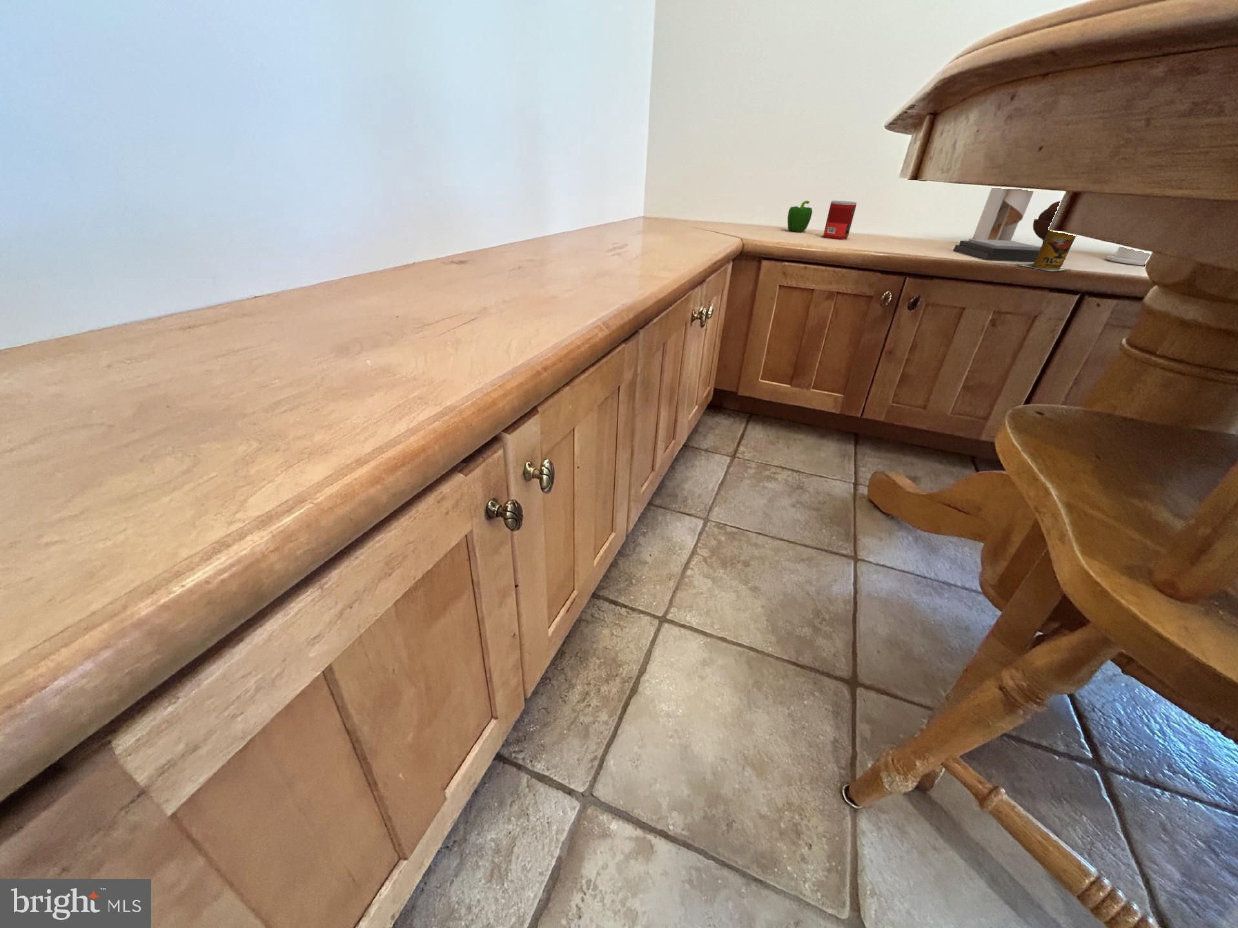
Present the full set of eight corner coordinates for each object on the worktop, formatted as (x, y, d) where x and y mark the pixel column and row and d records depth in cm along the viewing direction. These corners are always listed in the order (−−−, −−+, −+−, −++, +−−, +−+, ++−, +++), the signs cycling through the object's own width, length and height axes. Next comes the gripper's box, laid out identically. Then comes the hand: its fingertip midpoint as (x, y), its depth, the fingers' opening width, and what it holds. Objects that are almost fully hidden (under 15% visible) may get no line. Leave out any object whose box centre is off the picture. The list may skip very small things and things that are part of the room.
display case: (982, 248, 162) (1033, 117, 143) (970, 244, 170) (1017, 120, 152) (1021, 251, 160) (1078, 119, 141) (1007, 246, 169) (1059, 121, 150)
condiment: (1052, 272, 128) (1077, 220, 122) (1017, 265, 134) (1039, 216, 128) (1067, 270, 131) (1091, 220, 125) (1032, 264, 137) (1054, 216, 131)
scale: (1010, 253, 155) (1014, 242, 153) (1047, 262, 141) (1053, 251, 140) (953, 250, 154) (957, 240, 153) (985, 260, 141) (990, 248, 139)
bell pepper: (787, 232, 178) (794, 201, 173) (782, 229, 185) (788, 199, 180) (811, 233, 178) (818, 202, 173) (804, 230, 185) (811, 200, 180)
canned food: (849, 240, 166) (859, 203, 160) (825, 238, 167) (833, 201, 161) (844, 237, 173) (853, 201, 167) (820, 235, 174) (829, 200, 168)
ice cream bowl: (1070, 259, 149) (1097, 203, 141) (1029, 256, 151) (1054, 200, 143) (1051, 253, 158) (1076, 200, 150) (1013, 251, 159) (1035, 198, 152)
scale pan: (1009, 245, 152) (1011, 240, 152) (1039, 252, 141) (1041, 247, 140) (967, 243, 152) (969, 238, 151) (994, 250, 141) (996, 245, 140)
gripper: (1161, 68, 107) (1116, 161, 116) (1096, 79, 122) (1061, 161, 131) (1127, 66, 107) (1084, 159, 116) (1066, 77, 122) (1032, 159, 131)
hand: (1072, 160), depth 123 cm, fingers open, 9 cm apart
